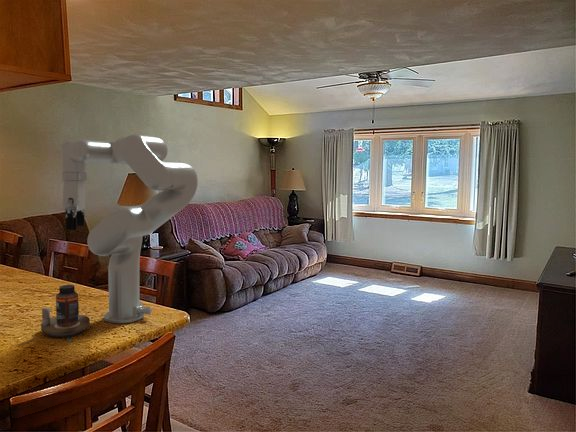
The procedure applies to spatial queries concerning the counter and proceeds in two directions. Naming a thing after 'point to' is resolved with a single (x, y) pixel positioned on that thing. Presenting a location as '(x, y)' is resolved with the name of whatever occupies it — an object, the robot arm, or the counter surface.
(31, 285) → the counter surface
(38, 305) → the counter surface
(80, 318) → the turntable
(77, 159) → the robot arm
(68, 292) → the supplement bottle
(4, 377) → the counter surface
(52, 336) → the turntable base
